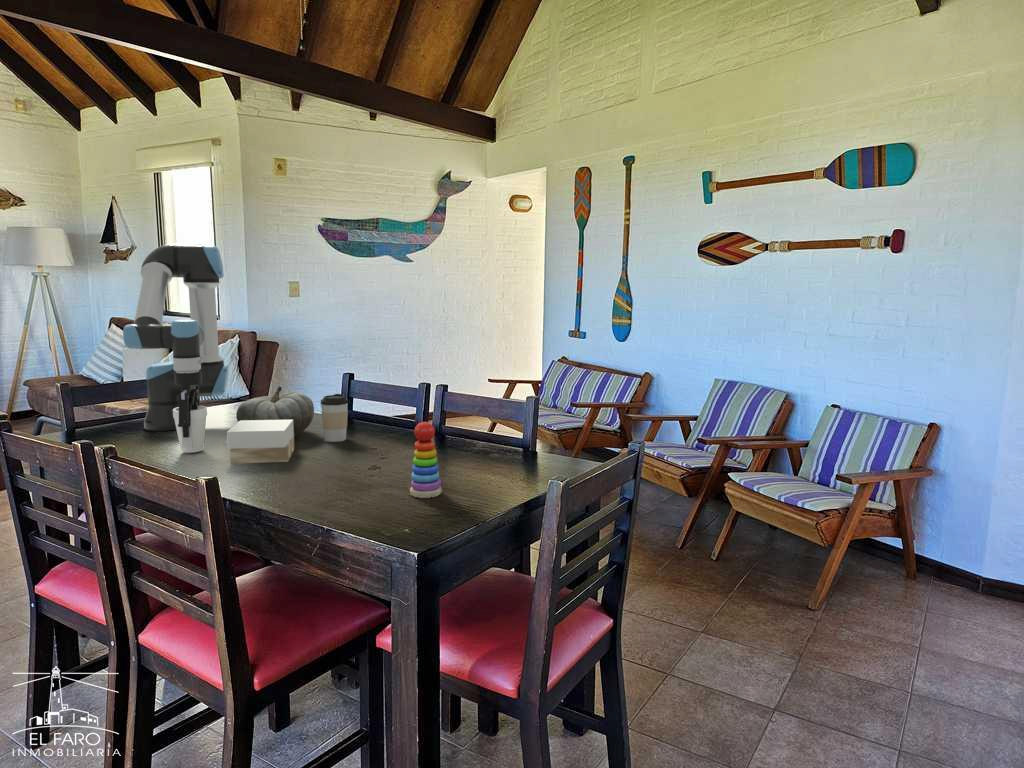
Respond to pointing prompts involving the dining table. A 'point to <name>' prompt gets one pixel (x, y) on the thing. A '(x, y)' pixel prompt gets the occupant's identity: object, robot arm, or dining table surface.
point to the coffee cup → (334, 417)
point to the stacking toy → (425, 464)
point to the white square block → (260, 434)
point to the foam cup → (193, 428)
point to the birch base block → (262, 454)
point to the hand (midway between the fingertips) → (192, 443)
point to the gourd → (279, 409)
